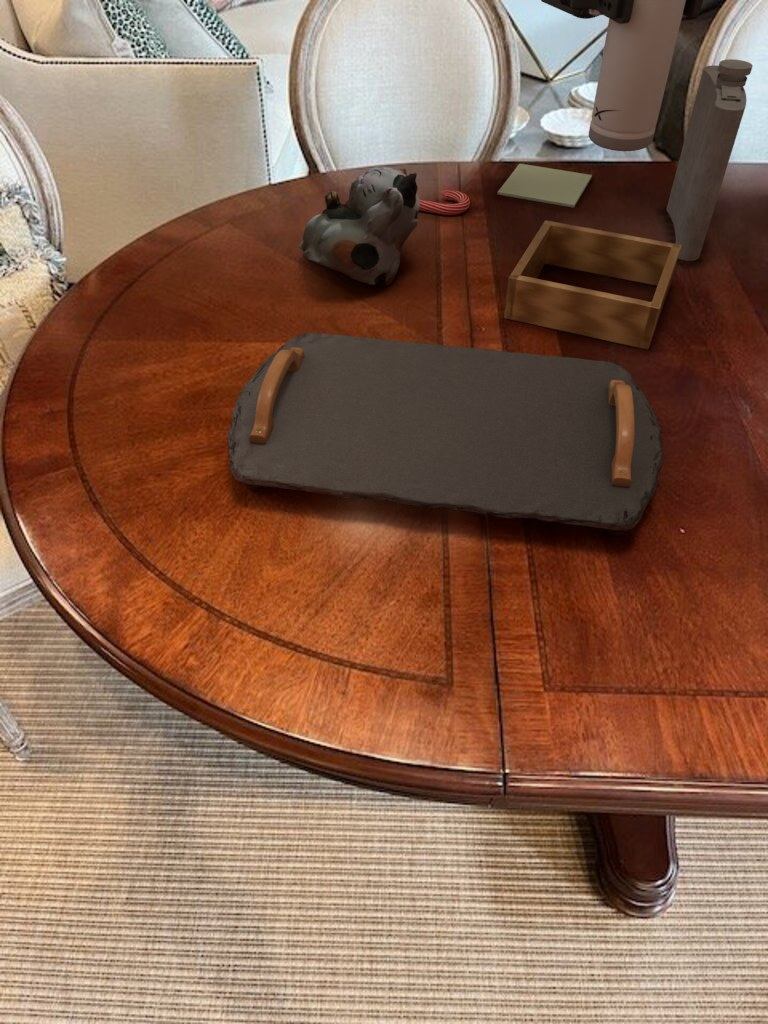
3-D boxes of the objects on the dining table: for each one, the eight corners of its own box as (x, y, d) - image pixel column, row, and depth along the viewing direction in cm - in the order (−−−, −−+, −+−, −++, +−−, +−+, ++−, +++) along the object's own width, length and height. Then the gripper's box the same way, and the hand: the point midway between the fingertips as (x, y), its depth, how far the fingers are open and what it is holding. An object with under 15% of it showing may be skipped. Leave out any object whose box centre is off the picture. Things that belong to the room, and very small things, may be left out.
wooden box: (670, 284, 93) (681, 244, 89) (648, 350, 83) (659, 308, 80) (539, 258, 97) (545, 220, 94) (503, 318, 88) (508, 277, 84)
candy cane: (376, 186, 113) (376, 175, 112) (475, 202, 109) (476, 191, 108) (359, 202, 109) (359, 192, 108) (461, 219, 105) (462, 209, 104)
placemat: (591, 177, 115) (592, 175, 114) (573, 207, 107) (574, 205, 107) (519, 165, 118) (519, 163, 117) (497, 194, 111) (497, 191, 110)
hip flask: (665, 205, 108) (708, 41, 94) (696, 207, 108) (743, 43, 93) (673, 259, 97) (723, 83, 83) (707, 262, 97) (763, 86, 82)
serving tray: (648, 388, 78) (663, 335, 74) (664, 560, 62) (686, 505, 58) (274, 350, 83) (268, 297, 79) (201, 500, 67) (188, 445, 63)
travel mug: (585, 150, 76) (632, -110, 62) (590, 125, 81) (634, -123, 66) (651, 156, 75) (714, -107, 61) (652, 130, 80) (711, -120, 65)
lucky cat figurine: (299, 242, 100) (340, 131, 94) (385, 280, 103) (430, 175, 97) (291, 265, 87) (338, 138, 81) (390, 308, 90) (442, 188, 84)
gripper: (513, -77, 75) (598, -40, 64) (647, -86, 78) (749, -51, 67) (505, 13, 80) (581, 63, 69) (630, 2, 83) (722, 48, 72)
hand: (663, 6), depth 68 cm, fingers closed on travel mug, 6 cm apart
